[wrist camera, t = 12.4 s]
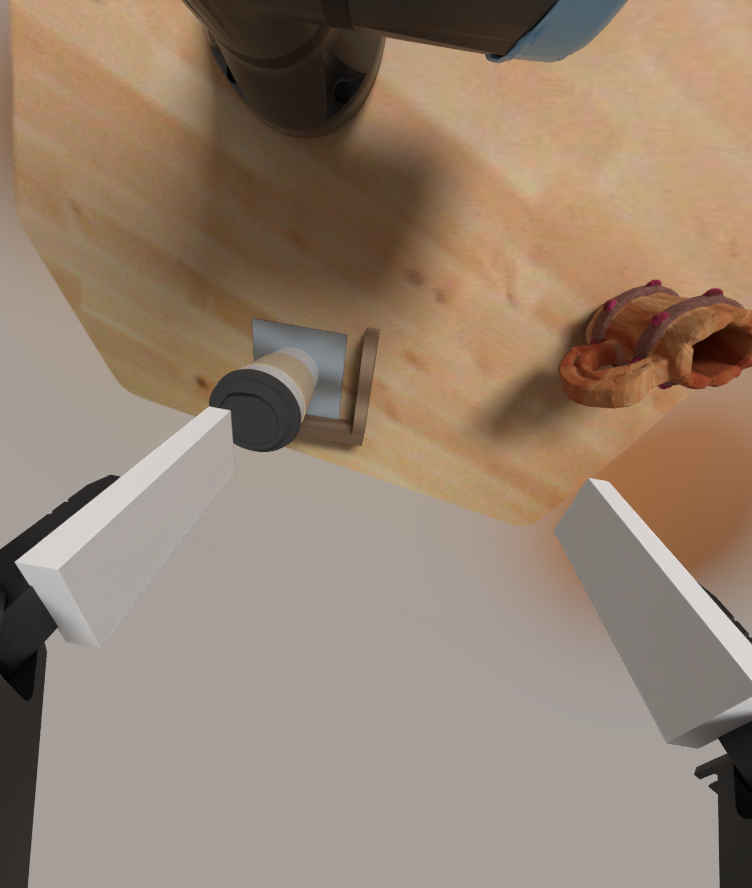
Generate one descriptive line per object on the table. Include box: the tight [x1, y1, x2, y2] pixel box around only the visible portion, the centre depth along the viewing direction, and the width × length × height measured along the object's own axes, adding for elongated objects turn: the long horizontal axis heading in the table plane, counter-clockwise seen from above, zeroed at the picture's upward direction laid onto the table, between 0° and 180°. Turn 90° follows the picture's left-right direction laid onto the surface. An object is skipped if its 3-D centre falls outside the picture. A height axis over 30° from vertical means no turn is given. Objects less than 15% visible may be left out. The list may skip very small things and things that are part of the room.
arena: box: [252, 319, 380, 446], centre depth 42 cm, size 15×17×4 cm
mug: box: [559, 280, 752, 408], centre depth 32 cm, size 15×8×15 cm, turn 118°
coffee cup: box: [209, 347, 319, 452], centre depth 37 cm, size 9×9×15 cm
